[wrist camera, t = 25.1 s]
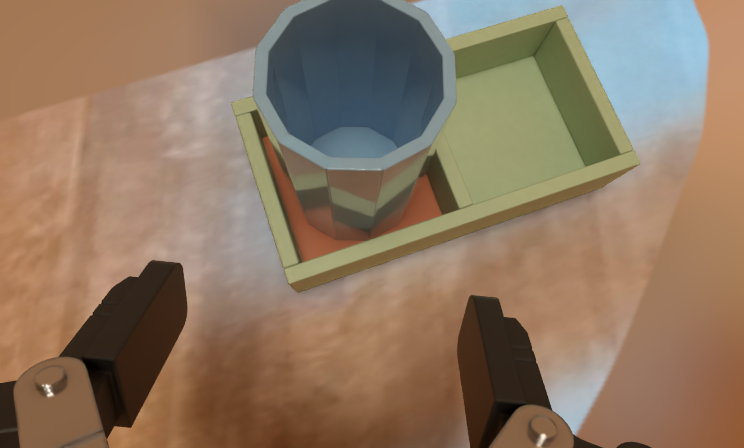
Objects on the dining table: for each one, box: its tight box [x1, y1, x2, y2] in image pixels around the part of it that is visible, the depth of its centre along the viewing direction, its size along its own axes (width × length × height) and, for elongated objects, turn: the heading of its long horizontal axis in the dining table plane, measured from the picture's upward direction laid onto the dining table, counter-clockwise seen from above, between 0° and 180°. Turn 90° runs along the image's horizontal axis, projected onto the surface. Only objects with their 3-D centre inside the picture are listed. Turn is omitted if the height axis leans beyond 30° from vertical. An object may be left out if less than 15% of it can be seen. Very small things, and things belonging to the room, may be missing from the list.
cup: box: [253, 0, 457, 241], centre depth 20 cm, size 6×6×10 cm
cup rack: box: [231, 5, 640, 292], centre depth 24 cm, size 9×16×4 cm, turn 110°
